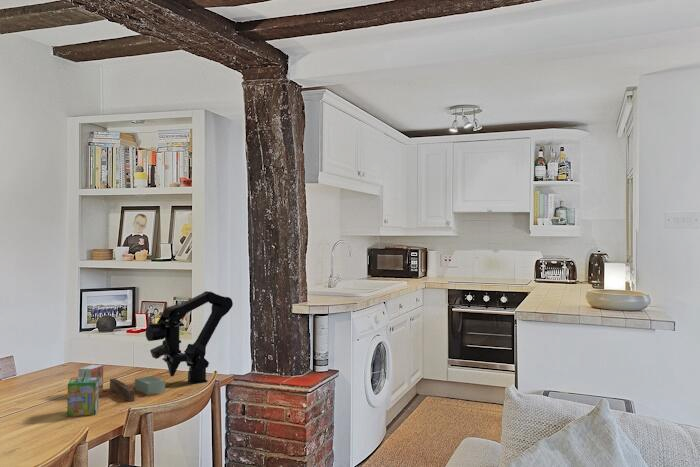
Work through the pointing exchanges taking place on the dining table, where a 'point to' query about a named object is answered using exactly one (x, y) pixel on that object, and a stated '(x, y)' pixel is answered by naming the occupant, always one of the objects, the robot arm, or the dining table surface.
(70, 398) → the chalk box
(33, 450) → the dining table surface
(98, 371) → the small box
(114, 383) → the walnut board
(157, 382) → the sage block
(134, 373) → the dining table surface
